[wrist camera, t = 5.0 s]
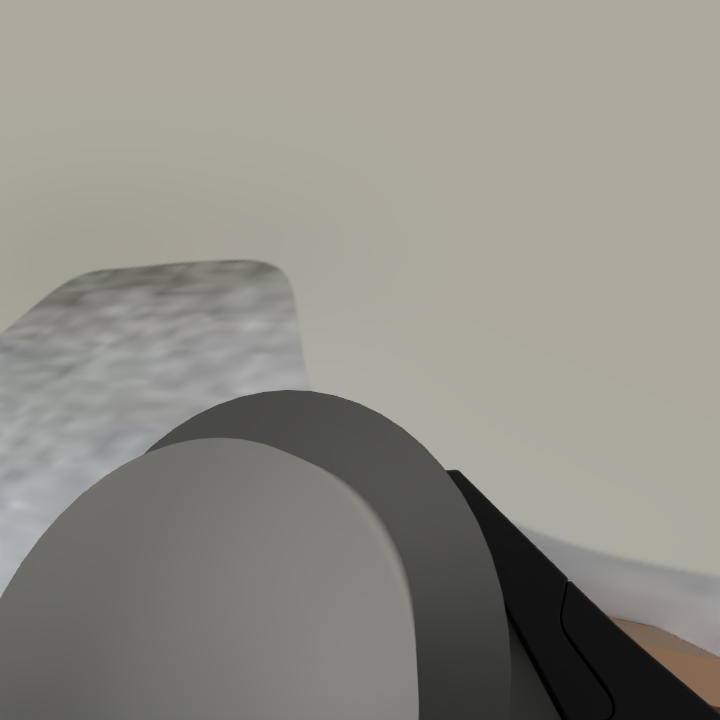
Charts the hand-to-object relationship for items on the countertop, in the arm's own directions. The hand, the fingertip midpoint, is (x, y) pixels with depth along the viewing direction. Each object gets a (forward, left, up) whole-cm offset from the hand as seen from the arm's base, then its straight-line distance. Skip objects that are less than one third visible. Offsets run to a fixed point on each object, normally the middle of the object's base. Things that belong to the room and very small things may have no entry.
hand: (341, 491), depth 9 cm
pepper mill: (0, -1, -7) cm, 7 cm away
